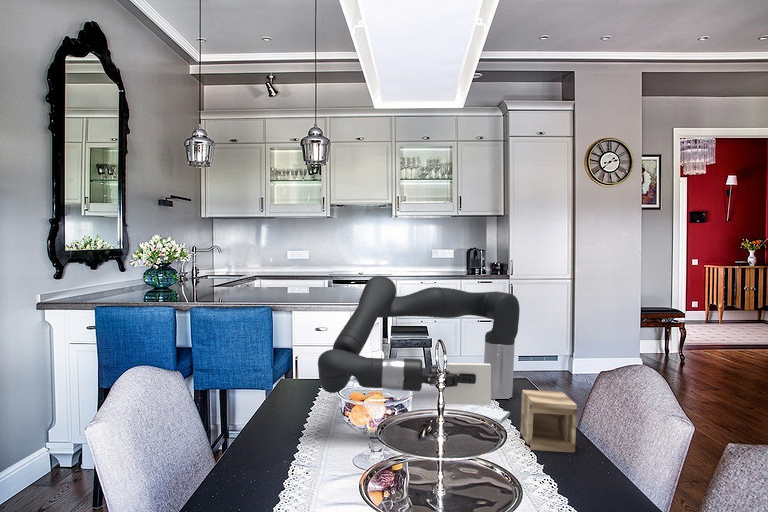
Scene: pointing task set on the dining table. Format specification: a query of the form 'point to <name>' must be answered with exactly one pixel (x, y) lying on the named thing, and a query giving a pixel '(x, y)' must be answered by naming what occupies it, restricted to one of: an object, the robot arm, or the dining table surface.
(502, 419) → the external hard drive
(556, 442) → the box
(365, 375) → the robot arm
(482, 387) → the cover plate
